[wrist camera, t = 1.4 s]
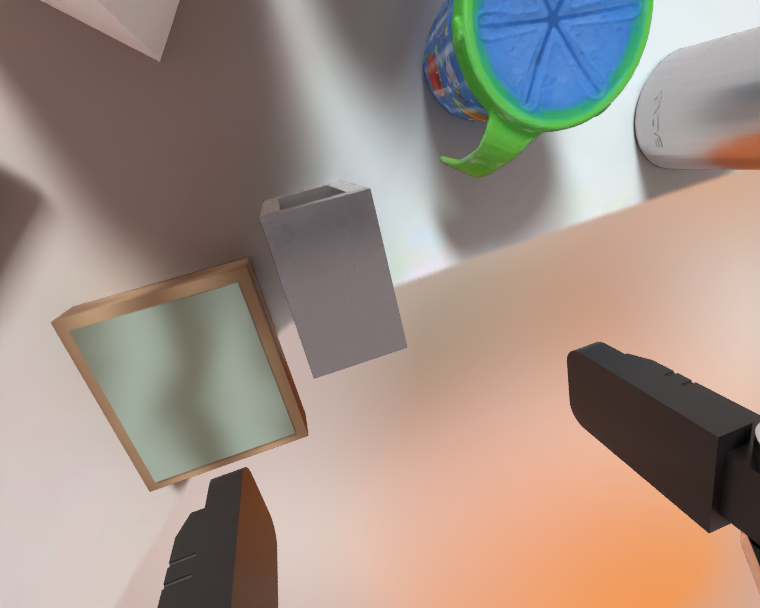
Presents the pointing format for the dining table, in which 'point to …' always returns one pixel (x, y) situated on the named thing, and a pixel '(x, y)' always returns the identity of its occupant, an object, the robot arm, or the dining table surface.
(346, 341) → the housing
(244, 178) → the dining table surface
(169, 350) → the wooden tray
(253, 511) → the robot arm
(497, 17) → the snack cup
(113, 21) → the milk
